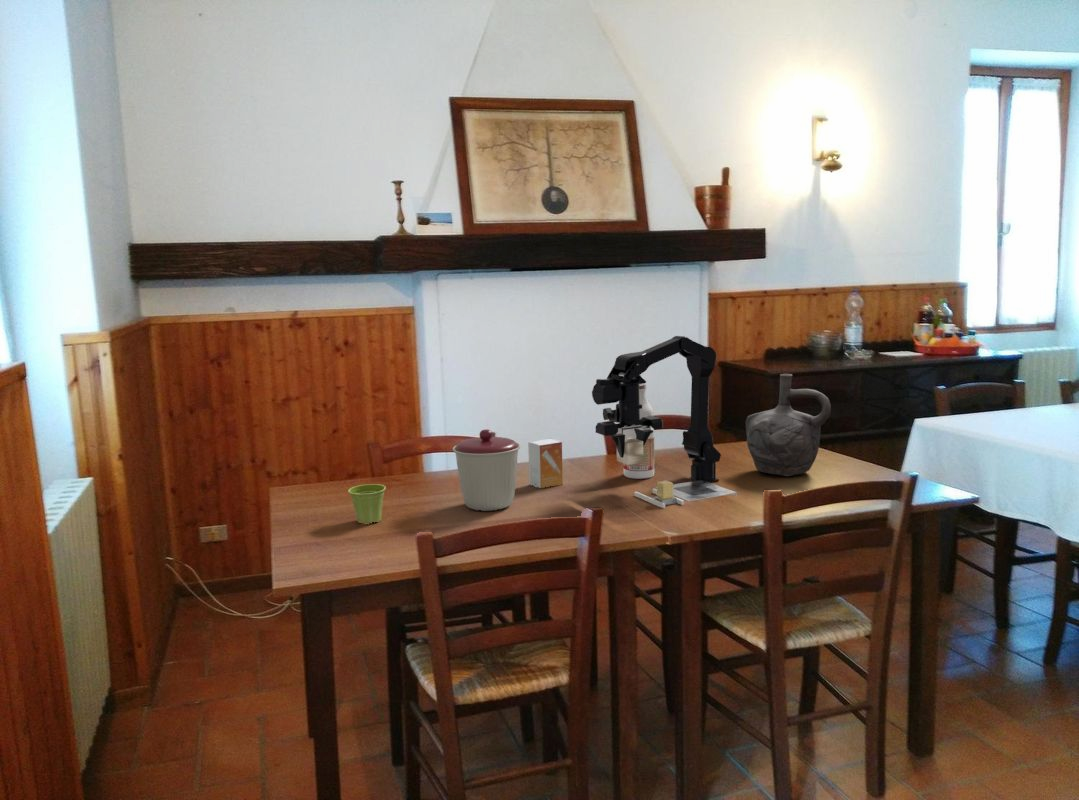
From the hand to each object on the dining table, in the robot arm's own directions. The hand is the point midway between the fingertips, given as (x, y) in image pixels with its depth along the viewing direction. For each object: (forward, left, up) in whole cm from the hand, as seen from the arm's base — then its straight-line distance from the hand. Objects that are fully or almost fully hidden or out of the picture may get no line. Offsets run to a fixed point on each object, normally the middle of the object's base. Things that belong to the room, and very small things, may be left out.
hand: (630, 456), depth 229 cm
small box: (+16, -22, -11) cm, 29 cm away
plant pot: (+71, -13, -11) cm, 73 cm away
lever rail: (-1, +12, -11) cm, 17 cm away
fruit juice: (-13, -17, -11) cm, 24 cm away
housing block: (0, 0, -2) cm, 2 cm away
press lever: (-1, +15, -10) cm, 18 cm away
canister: (+39, -10, -11) cm, 42 cm away
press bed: (-15, +9, -11) cm, 21 cm away
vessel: (-51, +4, -11) cm, 52 cm away
